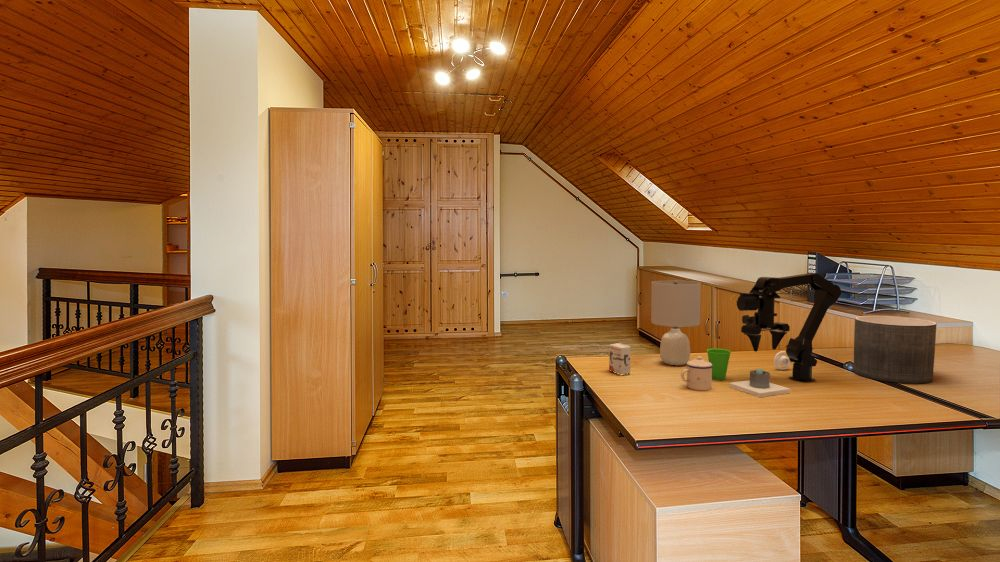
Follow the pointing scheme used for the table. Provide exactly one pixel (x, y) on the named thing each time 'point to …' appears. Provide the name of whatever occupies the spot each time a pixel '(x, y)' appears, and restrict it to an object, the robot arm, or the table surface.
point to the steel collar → (759, 379)
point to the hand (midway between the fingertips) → (764, 350)
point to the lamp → (675, 316)
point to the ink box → (619, 358)
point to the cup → (718, 362)
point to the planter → (894, 349)
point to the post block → (759, 392)
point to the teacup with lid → (698, 374)
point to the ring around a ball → (781, 360)
